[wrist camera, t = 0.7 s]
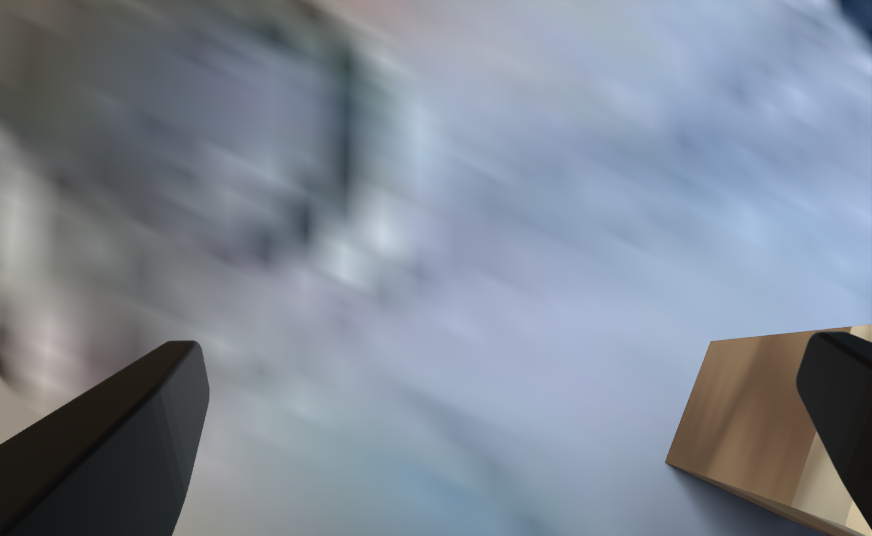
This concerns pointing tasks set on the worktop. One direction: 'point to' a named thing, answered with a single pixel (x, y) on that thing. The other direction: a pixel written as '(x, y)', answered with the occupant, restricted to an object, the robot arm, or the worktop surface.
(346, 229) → the worktop surface
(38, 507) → the robot arm
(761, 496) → the walnut block
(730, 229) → the worktop surface
